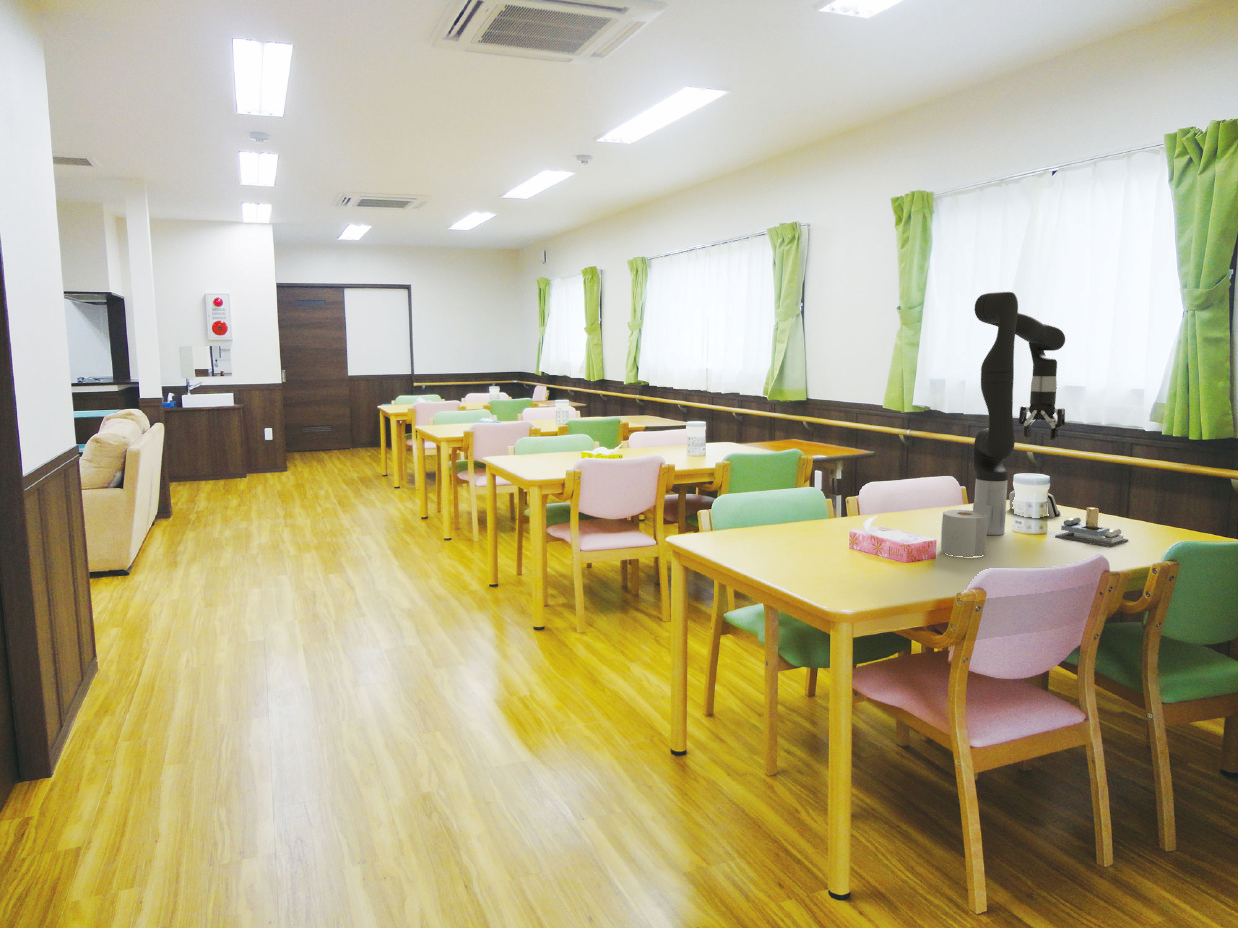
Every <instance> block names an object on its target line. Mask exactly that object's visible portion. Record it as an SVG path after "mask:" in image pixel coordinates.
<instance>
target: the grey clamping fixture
mask: <svg viewBox="0 0 1238 928" xmlns="http://www.w3.org/2000/svg"><path fill="white" fill-rule="evenodd" d="M1081 522H1082V519H1081V518H1080V517H1079V516H1078V517H1074V518H1070V519H1065V520H1064V521H1063V524H1061V527H1060V530H1061V531H1063V532H1064V531H1066V532H1069V531H1070V532H1074V537H1077V538H1082V539H1088V540H1093V541H1099V542H1104V543H1110V544H1113V543H1116V542H1119V541H1123V539H1124V535H1122V530H1121V529H1119V528H1116V529H1113V530H1110V529H1111V528H1109V527H1103V526H1098V530H1091V529H1086V523H1085V524H1084V523H1081Z"/></svg>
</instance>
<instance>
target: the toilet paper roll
mask: <svg viewBox="0 0 1238 928" xmlns="http://www.w3.org/2000/svg"><path fill="white" fill-rule="evenodd" d="M940 535H941V536H940V541H941V542H940V545H941V546H940V549H941V550H940V552H941V551H942V552H943V553H946V554H948V555H953V556H963V557H973V556H982V555H984V556H985V554H986V548H987V547H986V545H987V536H988V535H987V515H986V514H984V513H981V512H977V511H973V510H967V509H949V510H944V511H943V512H942V519H941V534H940ZM942 552H941V553H942ZM943 553H942V554H943ZM948 555H947V556H948Z"/></svg>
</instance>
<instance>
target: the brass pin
mask: <svg viewBox="0 0 1238 928" xmlns="http://www.w3.org/2000/svg"><path fill="white" fill-rule="evenodd" d="M1099 510H1100V509H1099V508H1098V507H1086V513H1085V514H1086V515H1085V516H1086V518H1085V524H1086V529H1091V530H1098V527H1099V515H1100V513H1099Z"/></svg>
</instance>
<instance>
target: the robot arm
mask: <svg viewBox="0 0 1238 928" xmlns="http://www.w3.org/2000/svg"><path fill="white" fill-rule="evenodd" d="M1018 302H1019V301H1018V298H1017V295H1016V294H1015V292H1013V291H1000V292H999V291H996V292H988V293H983V294H981V295H979V297H978V298H977V299H976V301H975V303H974V314H975V317H976V318H977V320H978V321H980V322H982V323H984V324H988V325H991V326H995V327H997V328H998V329H997V334H996V338H995V341H994V343H993V345H992V347H991V348H990V350H989V351H988V353H987V354H986V356H985V358H984V360H983V362H982V364H981V367H980V389H981V393H982V396H983V400H984V402H985V405H986V408H987V412H988V427H986V428H983V429H981V430H980V431H979V432H977V434H976V435H975V438H974V443H973V469H974V473H975V486H974V502H973V504H972V511H977V512H981V513H984V514H986V515H987V535H986V536H999V535H1000V536H1001V535H1004V534H1005V530H1006V529H1005V527H1006V512H1007V494H1008V493H1007V492H1008V479H1009V473H1008V470H1007V469H1006V468H1005V466H1004V463H1003V460H1006V459H1007V458H1009V457H1010V456H1011V454H1012V453H1013V451H1014V449H1015V431H1014V429H1015V428H1014V417H1013V416H1014V415H1013V409H1014V407H1013V406H1014V405H1013V404H1014V402H1013V401H1014V395H1013V393H1014V380H1015V379H1014V374H1015V373H1014V371H1015V369H1014V362H1015V361H1014V359H1015V357H1014V356H1015V355H1014V354H1015V339H1016V336H1017V337H1019V338H1021V339H1022V340H1024V341H1025V342H1027V343H1028V348H1029V350H1030V351H1029V352H1030V354H1031V360H1032V364H1033V365H1032V376H1031V381H1030V394H1029V395H1030V396H1029V397H1030V398H1029V403H1030V405H1029V406H1027V405H1023V406H1022V405H1021V406H1020V407H1019V415H1018V416H1019V417H1018V424H1019V425H1022V426H1023V435H1024V437H1025V438H1031V433H1032V424H1034V422H1035V421H1042V422H1047V424H1049V426H1050V427H1051V428H1050V440H1051V441H1055V440H1056V439H1058V433H1059V428H1062V427H1065V425H1066V409H1065V408H1056V401H1057V400H1056V398H1057V389H1058V388H1057V385H1058V384H1057V373H1058V372H1057V370H1058V361H1057V360H1056V359H1055V358H1053V357H1049V356H1047V355H1046V354H1045V351H1047V352H1048V351H1051V352H1052V351H1058V350H1061V348H1063V347H1064V346H1065V343H1066V335H1065V334H1064V332H1063V331H1062V330H1061V329H1060V328H1058V327H1055V326H1053V325H1050V324H1046V323H1042V322H1041V321H1039V320H1038V319H1036V318H1034V317H1033V316H1031V315H1028V314H1025V313H1021V312H1019V303H1018ZM1028 413H1030V415H1029V416H1027V414H1028ZM1054 415H1056V416H1057V418H1056V417H1055V416H1054Z"/></svg>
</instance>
